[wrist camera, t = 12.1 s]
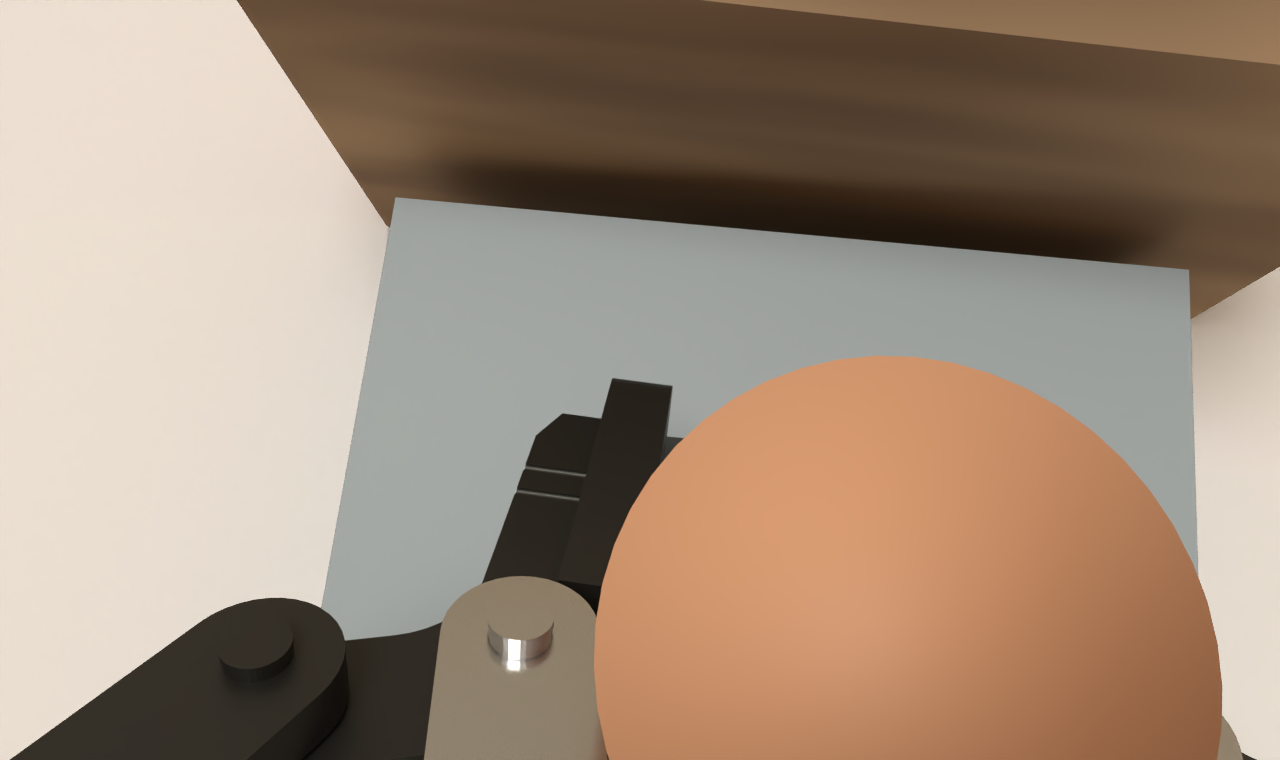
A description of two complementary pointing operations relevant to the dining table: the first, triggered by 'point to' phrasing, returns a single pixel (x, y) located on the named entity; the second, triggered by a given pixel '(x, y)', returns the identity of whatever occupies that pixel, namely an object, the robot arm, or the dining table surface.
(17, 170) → the dining table surface
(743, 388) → the pocket block
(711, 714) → the dowel
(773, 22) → the backstop wall
